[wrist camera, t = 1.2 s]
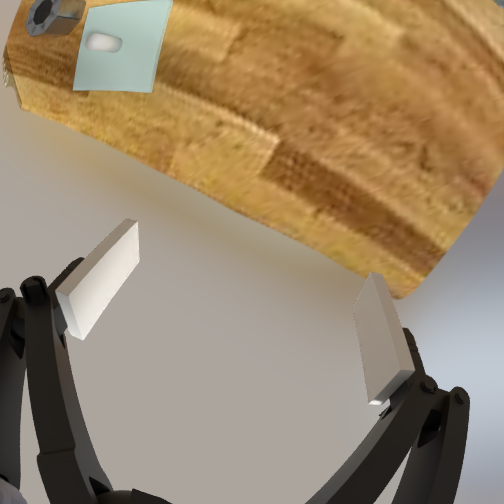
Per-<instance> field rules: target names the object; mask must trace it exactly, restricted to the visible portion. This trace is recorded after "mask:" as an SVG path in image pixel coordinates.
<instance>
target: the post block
mask: <svg viewBox="0 0 504 504" xmlns="http://www.w3.org/2000/svg"><path fill="white" fill-rule="evenodd" d="M172 5H173V1H172V0H148V1H136V2H127V3H118V4H111V5H105V6H99V7H94V8H89V11H88V15H87V18H86V22H85V26H84V30H83V34H82V39H81V44H80V49H79V54H78V59H77V65H76V71H75V78H74V85H73V91H74V90H112V91H134V92H148V93H150V92H152V91H153V85H154V80H155V75H156V70H157V65H158V60H159V55H160V51H161V46H162V42H163V38H164V34H165V30H166V26H167V22H168V19H169V15H170V12H171V8H172Z"/></svg>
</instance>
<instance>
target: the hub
mask: <svg viewBox="0 0 504 504" xmlns="http://www.w3.org/2000/svg"><path fill="white" fill-rule="evenodd" d="M85 5H86V2H85V0H36V1H35V3H34V4H33V5H32V7H31V9H30V10H29V14H28V18H27V21H26V25H25V27H26V29H27V31H28V33H29V35H30V36H31V37H59V36H64V35H68V34H69V33H70V32H71V31H72V30H73V28H74V27H75V26H76V25H77V24H78V23H79V22H80V21H81V19H82V15H83V12H84V8H85Z"/></svg>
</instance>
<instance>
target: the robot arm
mask: <svg viewBox="0 0 504 504" xmlns="http://www.w3.org/2000/svg"><path fill="white" fill-rule="evenodd" d="M493 1H494V2H495V3H496V4H497V5H499V6H500V7H502V8H504V0H493ZM138 262H139V241H138V221H137V220H132V219H127V218H126V219H125V220H124V221H123V222H122V223H121V224H120V225H119V226H118V227H116V228H115V229H114V231H112V232H111V233H110V234H109V235H108V236H107V237H106V238H105V239H104V240H103V241H102V242H101V243H100V244H99V245H98V246H97V247H96V248H95V249H94V250H93V251H92V252H91V253H90V254H89V255H88V256H87V257H86V258H82V257H80V258H78V259H76V260H74V261H72V262H71V263H70V264H69V265H68V267H66V269H64V270H63V271H62V273H61V274H60V275H59V276H58V277H57V278H56V279H55V280H54V281H53V282H52V283H51V284H50V285H49V287H48V288H47V285H46V282H45V279H44V278H43V277H41V276H32V277H29V278H27V279H26V280H24V281H23V282H22V284H21V286H20V290H21V293H22V295H23V297H16V295H15V292H14V290H13V289H12V288H3V289H1V290H0V504H27V502H26V500H25V499H24V498H23V496H22V494H21V493H20V492H19V489H20V477H21V476H20V475H21V473H20V420H21V405H22V393H23V385H24V377H25V370H26V368H27V378H28V388H29V396H30V402H31V409H32V415H33V420H34V426H35V430H36V435H37V439H38V444H39V448H40V453H39V454H38V455H37V464H38V468H39V472H40V475H41V478H42V481H43V484H44V487H45V490H46V493H47V496H48V498H49V501H50V504H172V503H170V502H168V501H166V500H164V499H162V498H160V497H157V496H153V495H150V494H147V493H145V492H141V491H139V490H136V489H132V491H126V490H125V491H124V490H119V491H114V490H113V488H112V486H111V484H110V482H109V479H108V478H107V476H106V474H105V473H104V471H103V469H102V468H101V466H100V464H99V462H98V459H97V457H96V454H95V451H94V449H93V446H92V443H91V440H90V437H89V434H88V431H87V428H86V425H85V422H84V418H83V415H82V412H81V408H80V404H79V401H78V397H77V393H76V389H75V384H74V380H73V375H72V371H71V366H70V361H69V356H68V350H67V343H66V337H65V334H64V331H65V329H66V328H67V327H68V329H69V332H70V334H71V335H72V336H75V337H77V338H79V339H81V340H84V339H85V337H86V336H87V334H88V333H89V331H90V330H91V328H92V327H93V325H94V324H95V322H96V321H97V319H98V318H99V316H100V315H101V313H102V312H103V310H104V309H105V308H106V306H107V305H108V303H109V302H110V300H111V299H112V298H113V296H114V295H115V293H116V292H117V291H118V289H119V288H120V287H121V285H122V284H123V282H124V281H125V280H126V278H127V277H128V276H129V274H130V273H131V272H132V270H133V269H134V268H135V266H136V265H137V264H138ZM352 309H353V314H354V318H355V324H356V329H357V334H358V339H359V344H360V350H361V356H362V362H363V369H364V375H365V382H366V389H367V396H368V404H383V403H384V402H385V401H386V400H387V399H390V406H389V407H387V408H386V409H385V410H384V411H383V412H382V413H381V414H380V415H379V416H380V419H379V420H378V422H377V423H376V424H375V425H374V427H373V428H372V430H371V431H370V432H369V434H368V435H367V436H366V438H365V439H364V440H363V441H362V443H361V444H360V445H359V446H358V448H357V449H356V450H355V451H354V452H353V454H352V455H351V456H350V457H349V458H348V460H347V461H346V462H345V463H344V464H343V465H342V466H341V468H340V469H339V470H338V471H337V472H336V473H335V474H334V476H332V477H331V478H330V480H329V481H328V482H327V483H326V484H325V485H324V486H323V487H322V488H321V489H320V490H319V491H318V492H317V493H316V494H315V495H314V496H313V497H312V498H311V499H310V500H309V501H308V502H306V503H305V504H373V503H374V502H375V501H376V499H377V498H378V497H379V495H380V494H381V493H382V491H383V490H384V489H385V487H386V485H387V484H388V483H389V481H390V480H391V479H392V477H393V475H394V474H395V472H396V471H397V469H398V468H399V466H400V465H401V463H402V462H403V460H404V458H405V457H406V455H407V453H408V452H409V450H410V448H411V446H412V448H411V451H410V454H409V458H408V461H407V464H406V467H405V470H404V473H403V476H402V478H401V481H400V484H399V486H398V489H397V491H396V494H395V496H394V499H393V501H392V504H453V503H454V499H455V495H456V491H457V488H458V483H459V479H460V474H461V470H462V464H463V459H464V453H465V446H466V440H467V431H468V422H469V409H470V398H469V396H468V393H467V392H466V391H465V390H464V389H463V388H461V387H458V386H457V387H454V388H453V389H452V390H451V391H450V392H448V391H445V390H442V389H439V388H438V385H437V383H436V382H435V380H434V379H433V378H432V377H430V376H428V375H426V373H425V370H424V367H423V363H422V360H421V357H420V354H419V352H418V348H417V346H416V342H415V340H414V336H413V335H412V333H411V332H410V331H409V329H408V328H402V326H401V323H400V320H399V318H398V315H397V312H396V309H395V307H394V304H393V301H392V298H391V296H390V293H389V290H388V288H387V285H386V283H385V280H384V278H383V275H382V274H379V273H375V272H371V271H370V273H369V275H368V277H367V279H366V282H365V284H364V286H363V288H362V290H361V292H360V294H359V296H358V298H357V300H356V302H355V303H354V305H353V307H352Z"/></svg>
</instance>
